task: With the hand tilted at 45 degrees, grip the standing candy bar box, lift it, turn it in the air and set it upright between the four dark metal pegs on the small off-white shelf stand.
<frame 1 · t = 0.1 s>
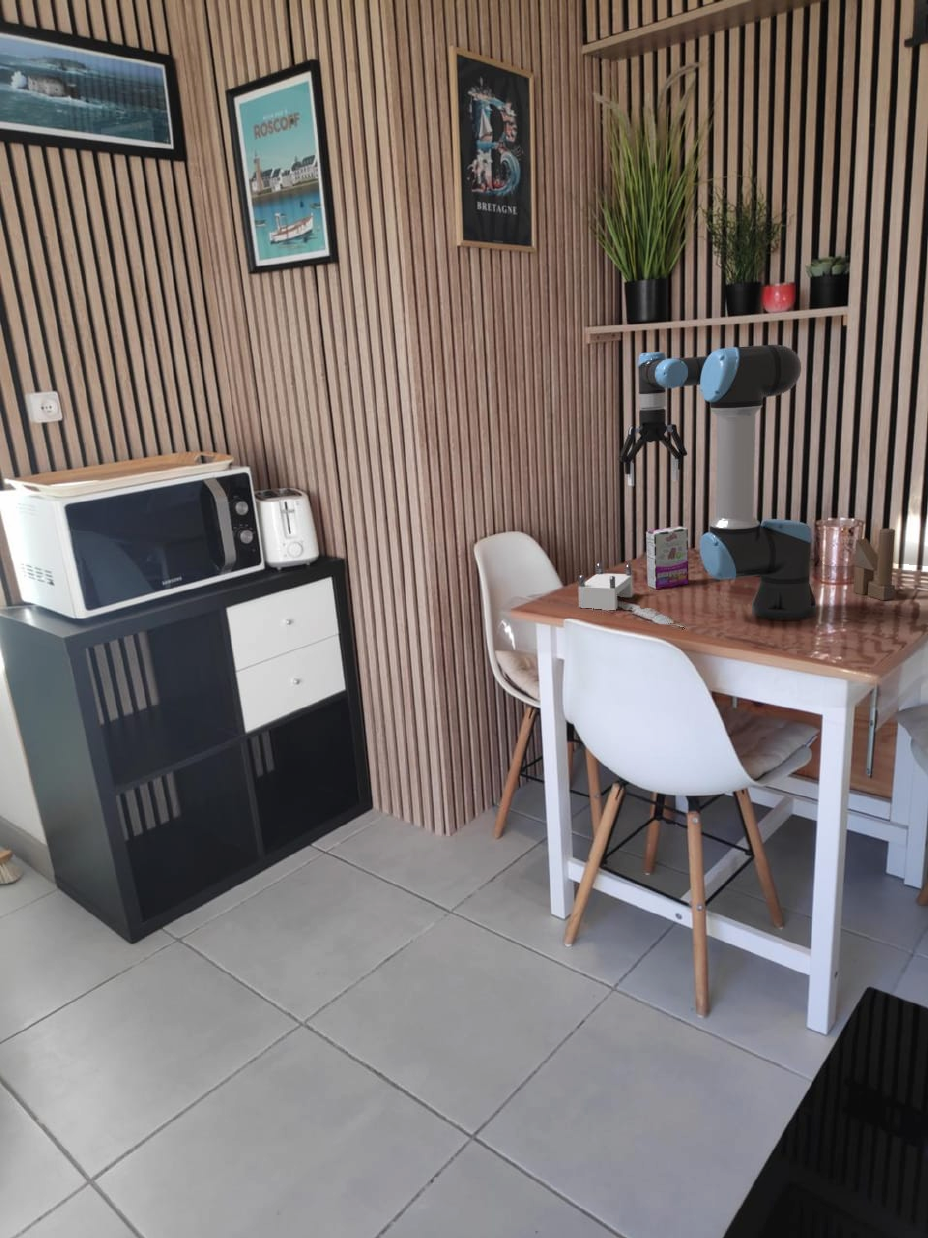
hand: (653, 483, 263), 28 cm above the table, tool pointing down, fingers open, 13 cm apart
driftwood: (639, 615, 236), on the table
candy bar box: (667, 586, 260), on the table
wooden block: (873, 596, 236), on the table
peg shelf: (606, 601, 248), on the table
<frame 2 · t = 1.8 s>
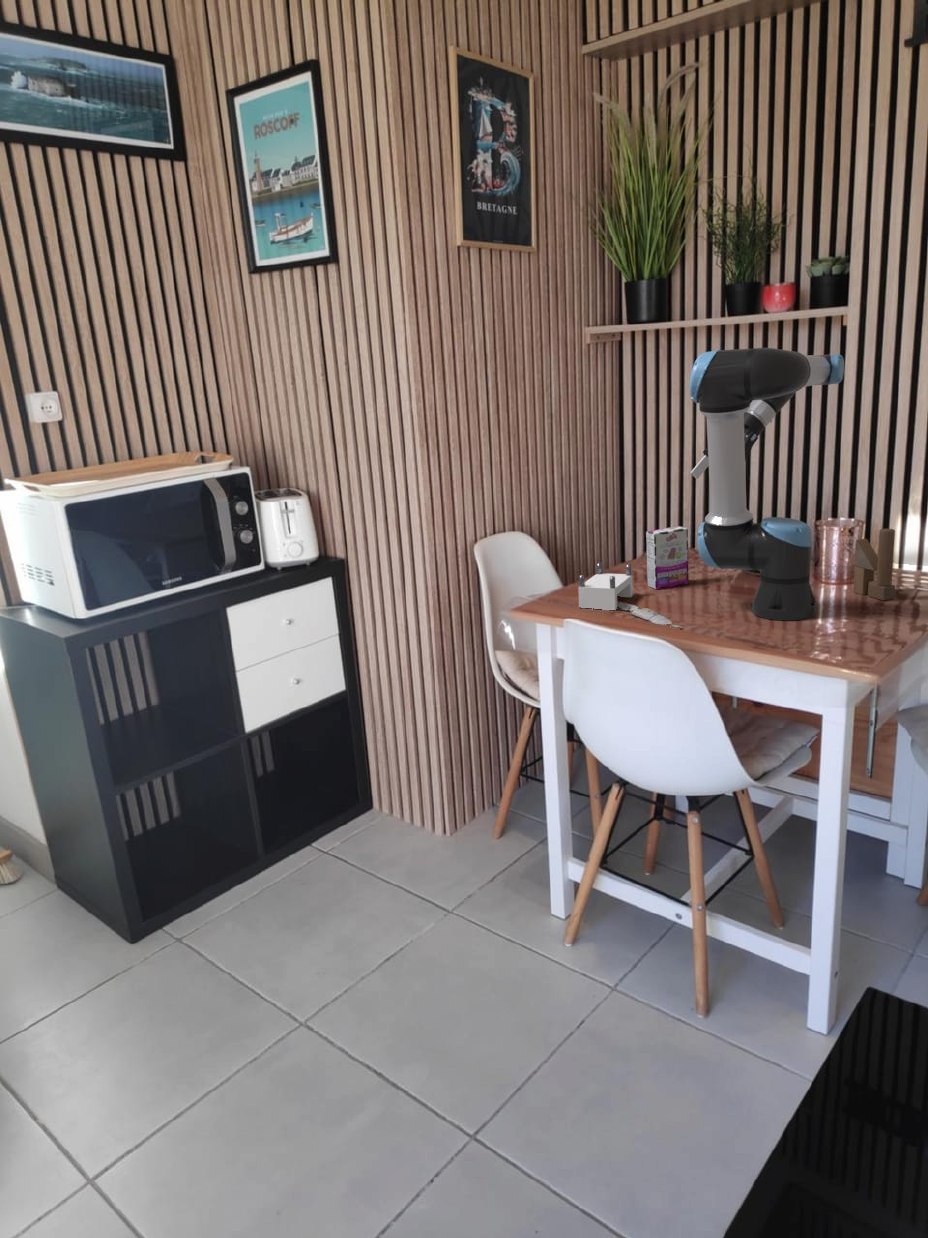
hand: (704, 478, 254), 30 cm above the table, tool tilted 45°, fingers open, 13 cm apart
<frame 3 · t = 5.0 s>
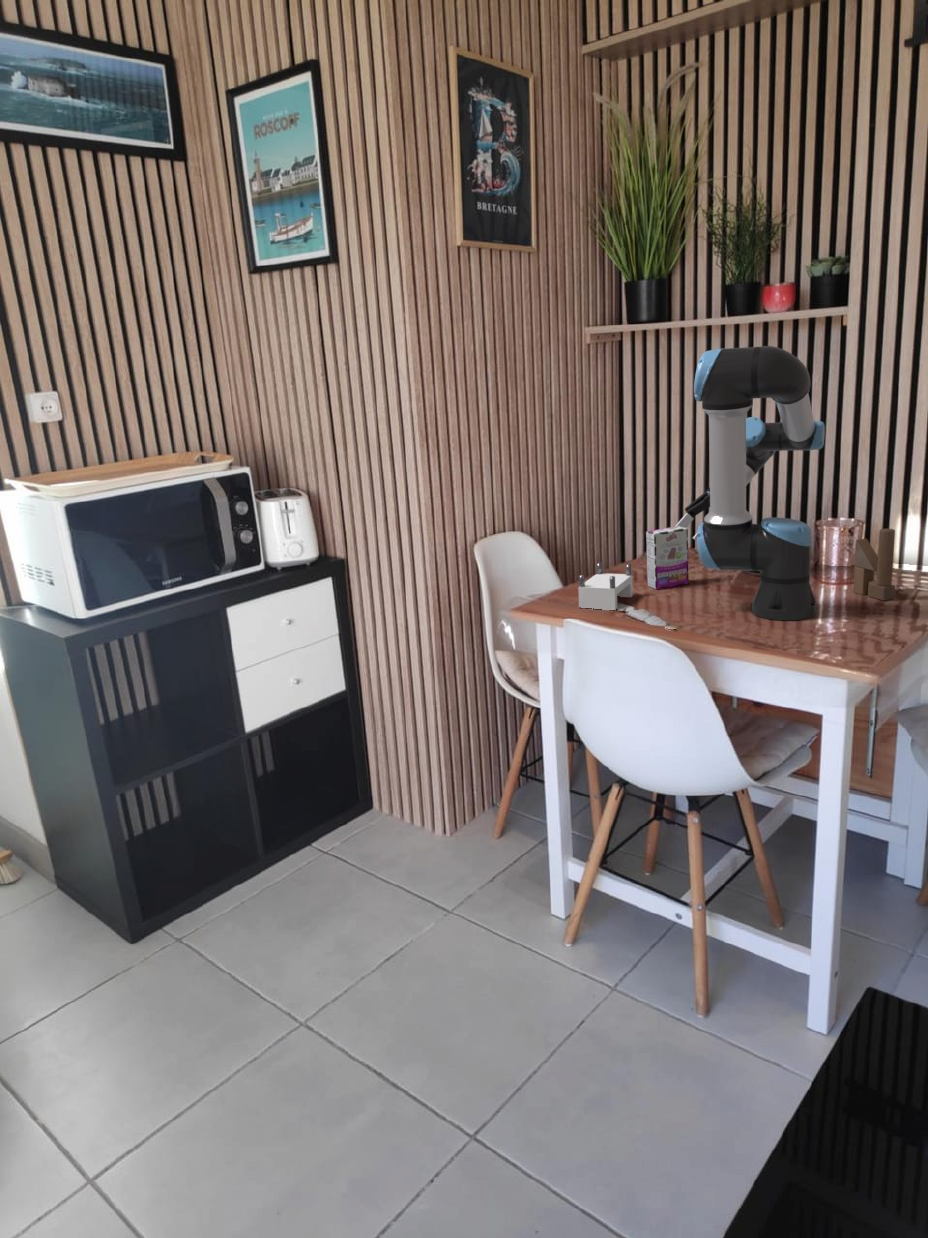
hand: (685, 537, 259), 13 cm above the table, tool tilted 45°, fingers open, 13 cm apart
driftwood: (633, 616, 235), on the table
everything else where it was.
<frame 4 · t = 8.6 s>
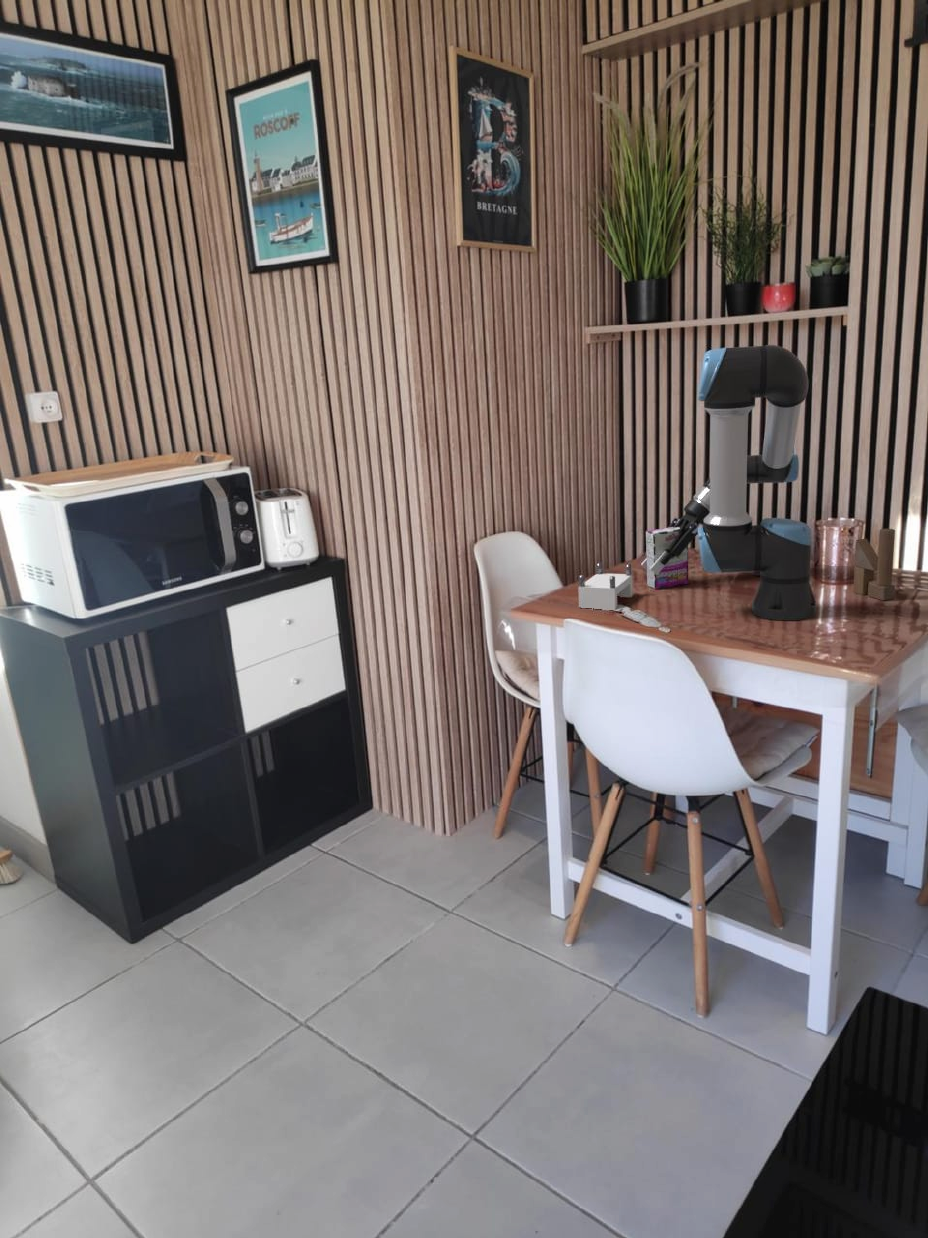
hand: (648, 569, 258), 5 cm above the table, tool tilted 45°, fingers closed on candy bar box, 5 cm apart
driftwood: (629, 617, 235), on the table
candy bar box: (667, 585, 260), on the table, touching gripper
everything else where it was.
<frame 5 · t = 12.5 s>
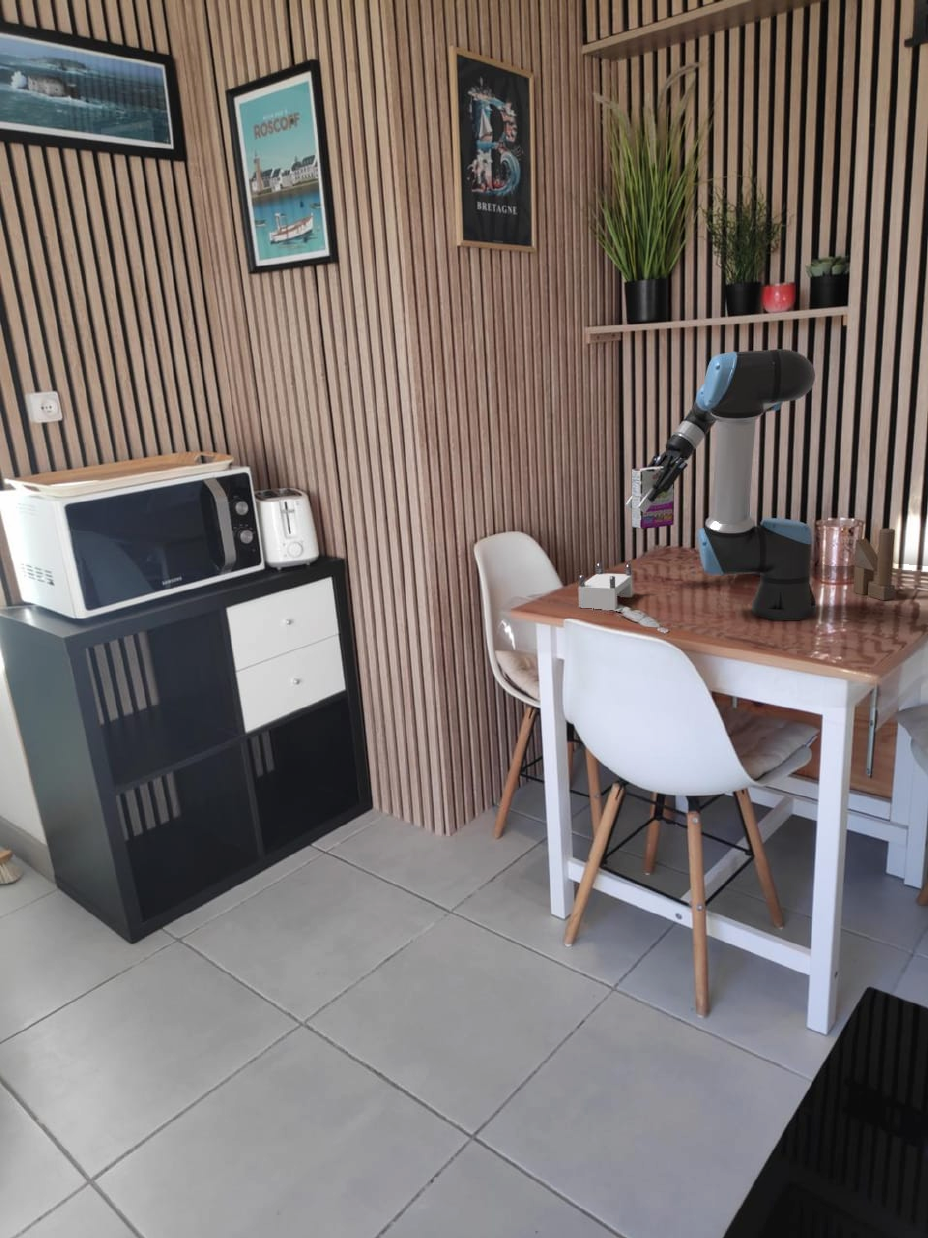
hand: (635, 508, 250), 24 cm above the table, tool tilted 45°, fingers closed on candy bar box, 5 cm apart
candy bar box: (652, 527, 254), point 18 cm above the table, touching gripper
everything else where it was.
when the fingers open (13 cm above the table, at t = 16.9 s): candy bar box stays where it is, resting on peg shelf.
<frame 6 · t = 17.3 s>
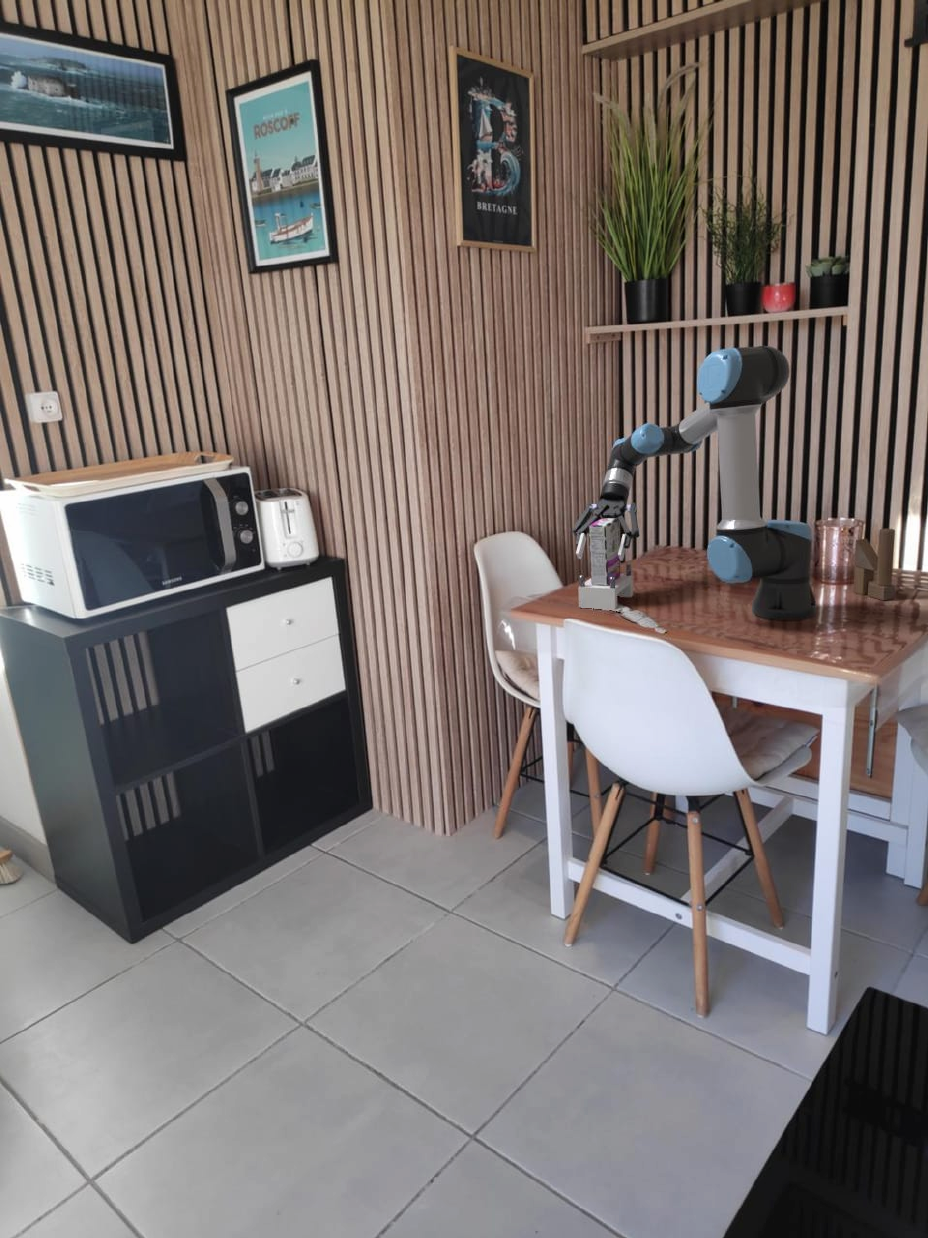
hand: (599, 556, 240), 14 cm above the table, tool tilted 45°, fingers open, 11 cm apart
candy bar box: (605, 581, 246), point 6 cm above the table, touching peg shelf
everything else where it was.
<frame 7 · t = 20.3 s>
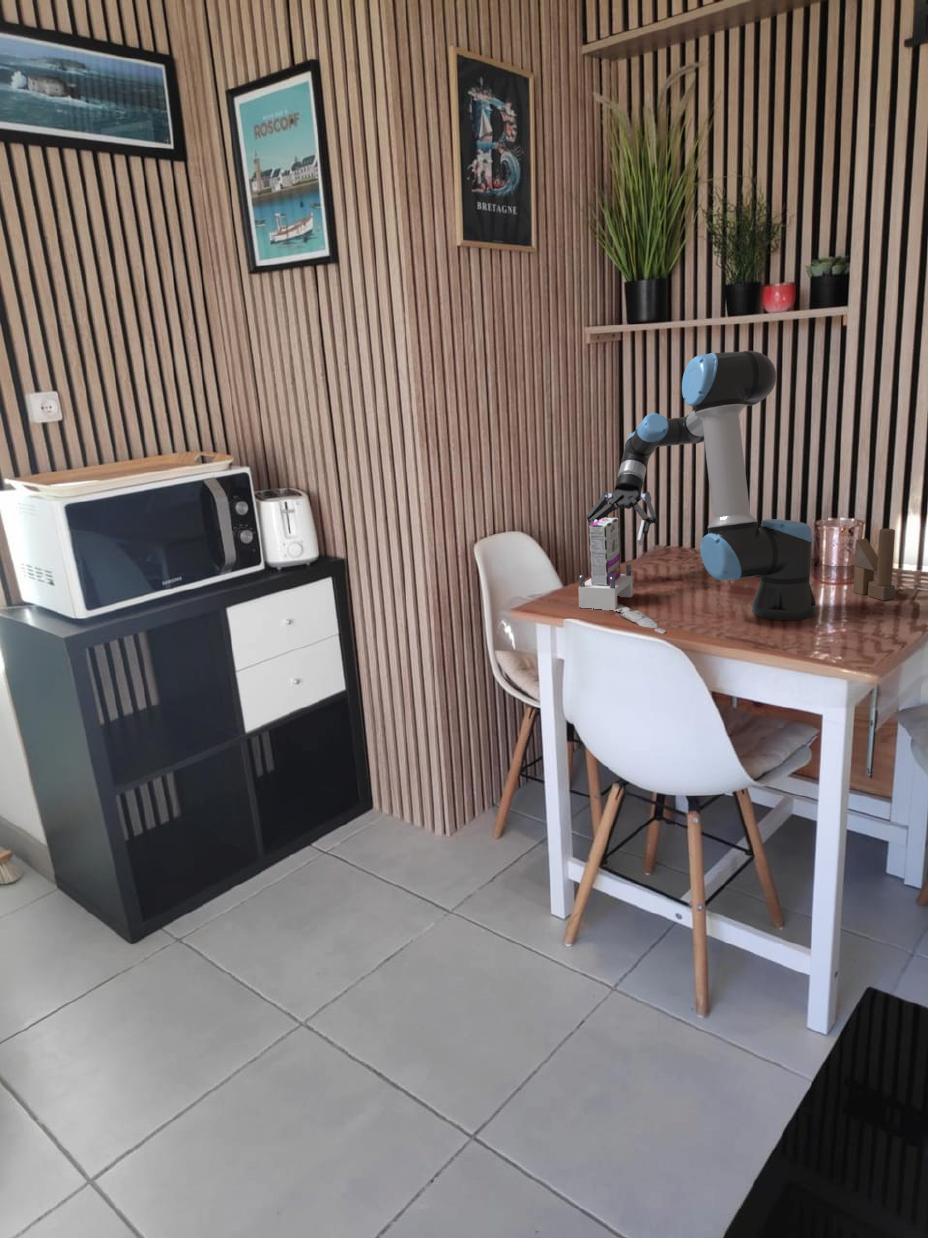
hand: (615, 542, 251), 15 cm above the table, tool tilted 45°, fingers open, 13 cm apart
nothing on the table moved.
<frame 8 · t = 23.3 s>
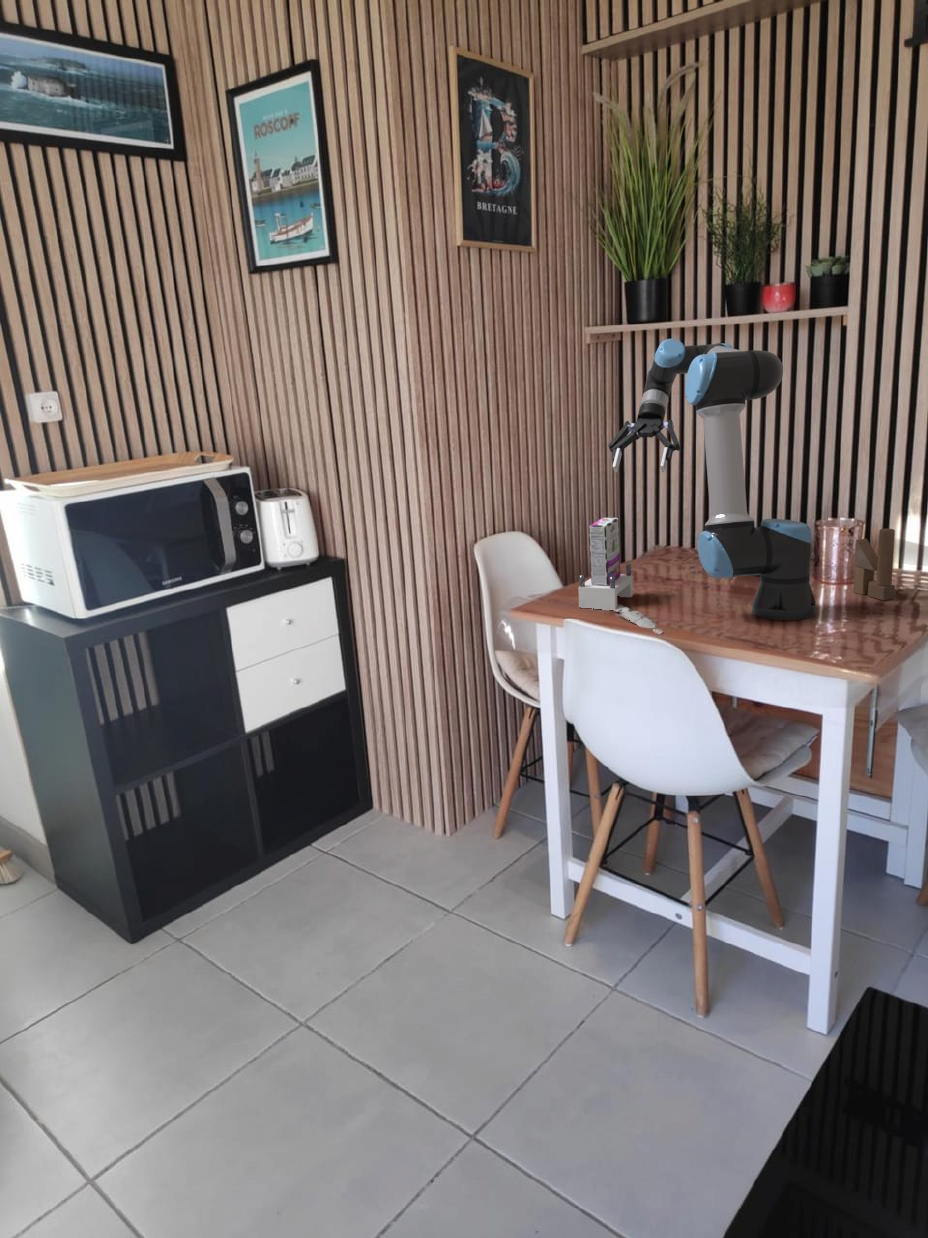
hand: (638, 469, 252), 34 cm above the table, tool tilted 45°, fingers open, 13 cm apart
at the end: candy bar box 0.4 cm off-centre on the peg shelf, point 5.8 cm above the peg shelf's base; candy bar box tilted 0°; the gripper is holding nothing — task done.
